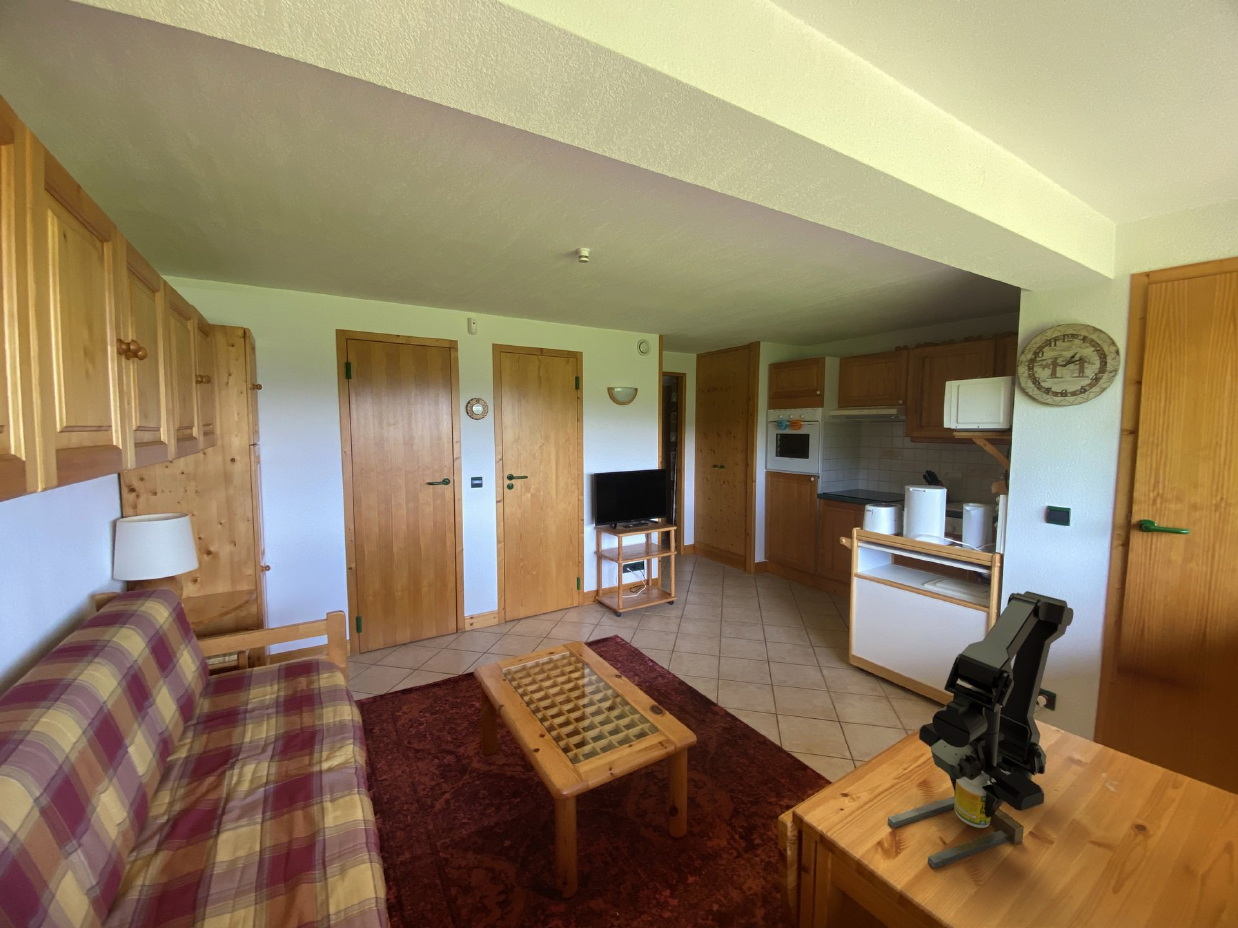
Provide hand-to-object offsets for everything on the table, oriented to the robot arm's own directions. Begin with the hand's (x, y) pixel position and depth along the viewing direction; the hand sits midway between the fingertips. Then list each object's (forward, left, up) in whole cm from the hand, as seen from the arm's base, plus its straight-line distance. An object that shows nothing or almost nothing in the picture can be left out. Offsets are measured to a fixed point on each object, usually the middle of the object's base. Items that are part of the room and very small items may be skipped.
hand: (972, 803), depth 88 cm
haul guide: (+5, 0, -4) cm, 7 cm away
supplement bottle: (0, 0, -3) cm, 3 cm away
